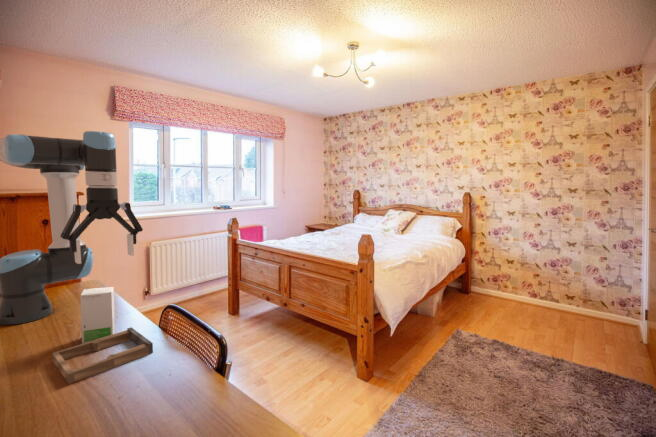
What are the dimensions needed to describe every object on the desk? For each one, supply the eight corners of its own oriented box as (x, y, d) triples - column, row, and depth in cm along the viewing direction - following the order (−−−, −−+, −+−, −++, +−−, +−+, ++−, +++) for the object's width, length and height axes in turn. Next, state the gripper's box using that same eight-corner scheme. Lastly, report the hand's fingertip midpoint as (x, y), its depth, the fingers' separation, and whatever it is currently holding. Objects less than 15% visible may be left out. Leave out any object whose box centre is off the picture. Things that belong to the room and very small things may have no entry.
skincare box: (81, 345, 101) (78, 295, 99) (85, 335, 107) (82, 288, 105) (114, 339, 105) (111, 291, 103) (116, 330, 111) (113, 285, 109)
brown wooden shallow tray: (52, 361, 92) (52, 351, 92) (131, 336, 107) (131, 327, 107) (68, 384, 82) (67, 372, 82) (152, 352, 98) (152, 342, 97)
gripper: (50, 187, 84) (56, 269, 87) (152, 187, 104) (154, 254, 106) (43, 186, 89) (49, 263, 92) (142, 186, 108) (144, 250, 111)
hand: (105, 258), depth 99 cm, fingers open, 13 cm apart
